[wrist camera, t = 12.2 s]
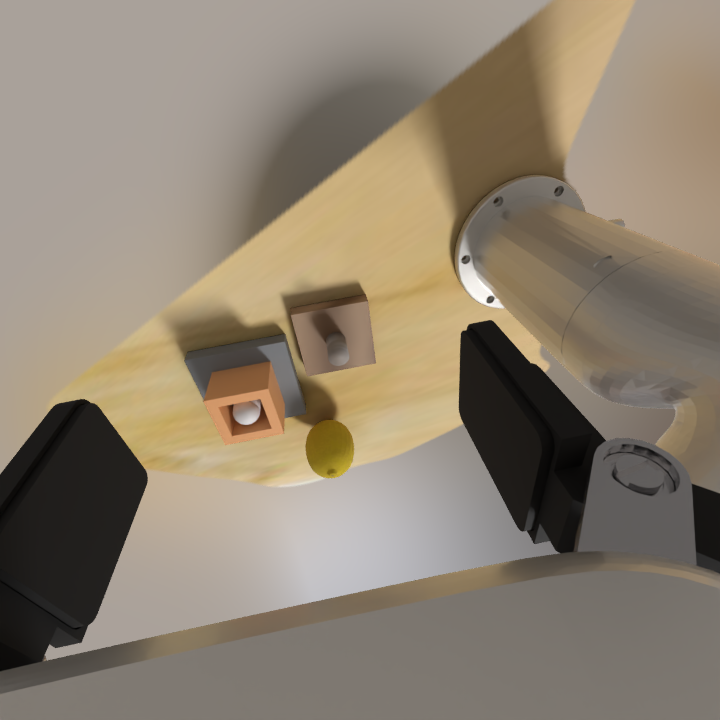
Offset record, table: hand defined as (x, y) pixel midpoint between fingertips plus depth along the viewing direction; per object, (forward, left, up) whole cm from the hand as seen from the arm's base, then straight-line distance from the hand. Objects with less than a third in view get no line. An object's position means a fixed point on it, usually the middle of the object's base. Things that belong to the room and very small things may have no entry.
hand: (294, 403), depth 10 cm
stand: (-1, +14, -26) cm, 30 cm away
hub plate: (+9, +18, -26) cm, 33 cm away
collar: (+9, +18, -25) cm, 32 cm away
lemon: (+2, +26, -26) cm, 37 cm away
